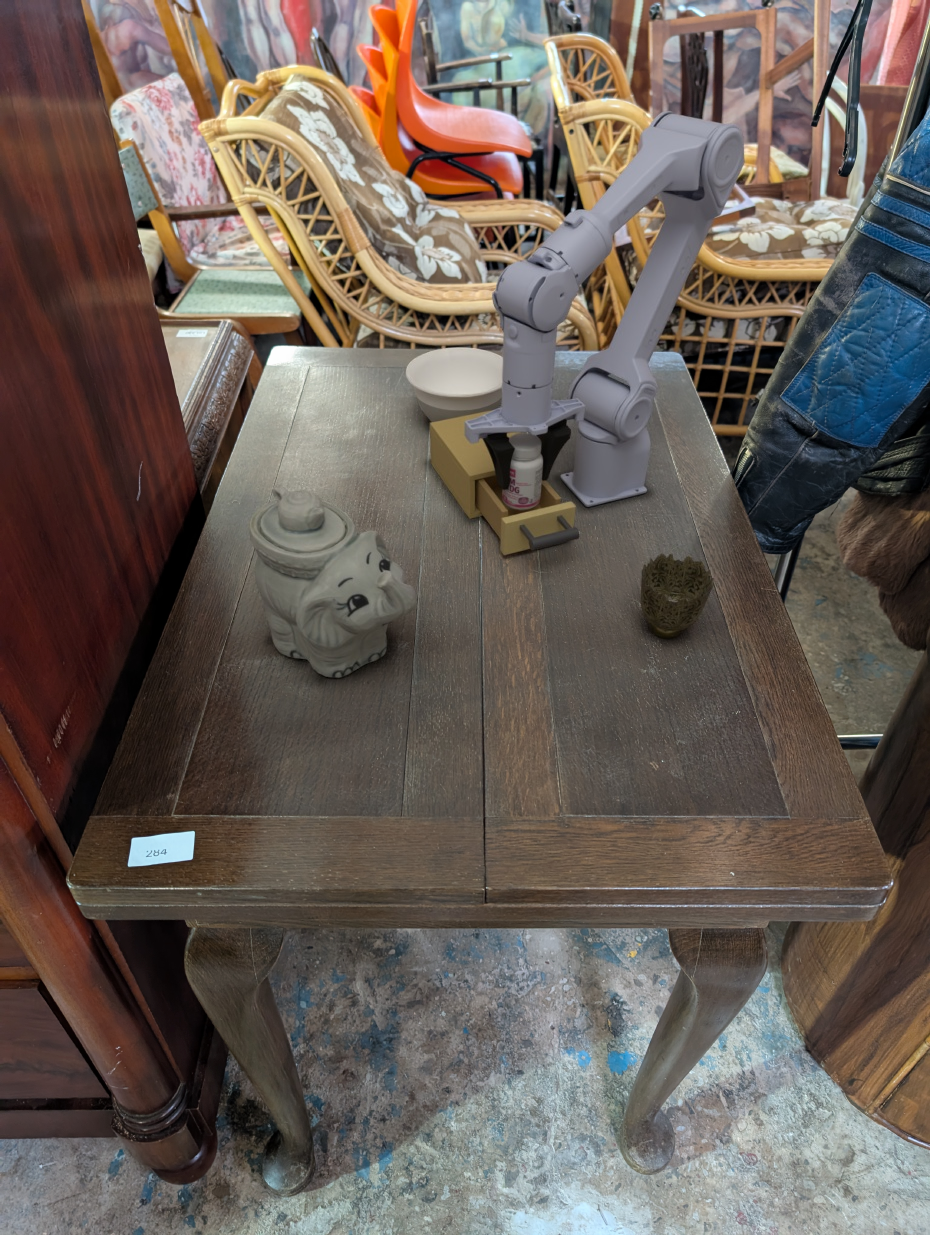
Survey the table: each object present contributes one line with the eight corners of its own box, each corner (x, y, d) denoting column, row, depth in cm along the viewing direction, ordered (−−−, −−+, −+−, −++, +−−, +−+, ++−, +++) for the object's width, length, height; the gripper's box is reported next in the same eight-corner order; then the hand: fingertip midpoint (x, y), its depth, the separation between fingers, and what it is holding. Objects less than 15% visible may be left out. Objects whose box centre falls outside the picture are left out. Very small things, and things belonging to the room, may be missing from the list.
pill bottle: (496, 506, 99) (498, 446, 93) (509, 486, 102) (512, 427, 96) (533, 514, 98) (537, 454, 92) (545, 494, 101) (549, 435, 95)
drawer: (589, 557, 97) (593, 525, 93) (518, 576, 94) (520, 543, 91) (526, 482, 109) (528, 452, 105) (463, 497, 106) (462, 466, 103)
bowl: (419, 454, 116) (416, 400, 110) (400, 403, 127) (396, 352, 121) (523, 441, 119) (526, 388, 113) (495, 392, 130) (497, 342, 124)
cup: (703, 615, 90) (718, 560, 85) (695, 659, 85) (710, 604, 80) (637, 601, 92) (648, 546, 87) (625, 643, 87) (636, 588, 81)
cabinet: (542, 501, 107) (545, 459, 102) (469, 519, 104) (469, 476, 100) (498, 449, 117) (499, 408, 112) (431, 463, 114) (429, 422, 110)
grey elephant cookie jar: (423, 693, 82) (415, 548, 69) (275, 719, 79) (238, 573, 66) (397, 591, 93) (386, 451, 81) (267, 610, 91) (234, 469, 78)
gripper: (481, 405, 84) (480, 511, 93) (602, 381, 88) (589, 485, 97) (457, 376, 89) (458, 480, 98) (572, 355, 93) (563, 457, 102)
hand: (522, 481), depth 98 cm, fingers closed on pill bottle, 5 cm apart
